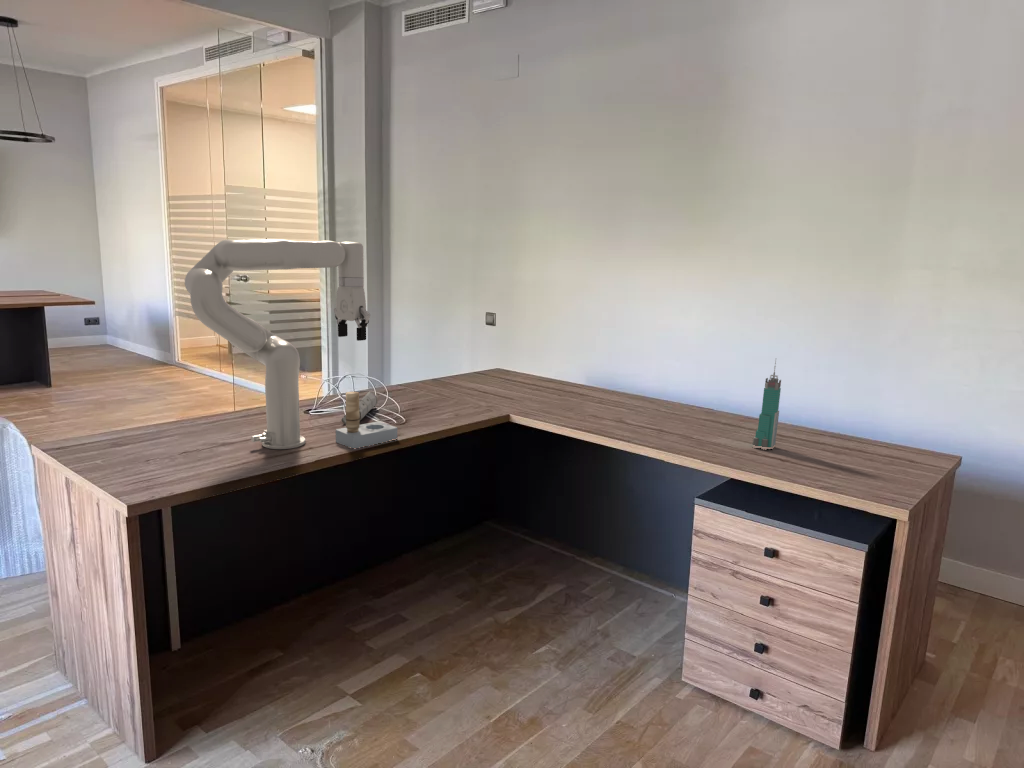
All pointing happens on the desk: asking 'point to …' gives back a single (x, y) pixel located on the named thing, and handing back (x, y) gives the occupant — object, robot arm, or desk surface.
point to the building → (769, 413)
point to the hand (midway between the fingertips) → (352, 338)
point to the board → (366, 435)
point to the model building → (365, 405)
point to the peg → (352, 412)
